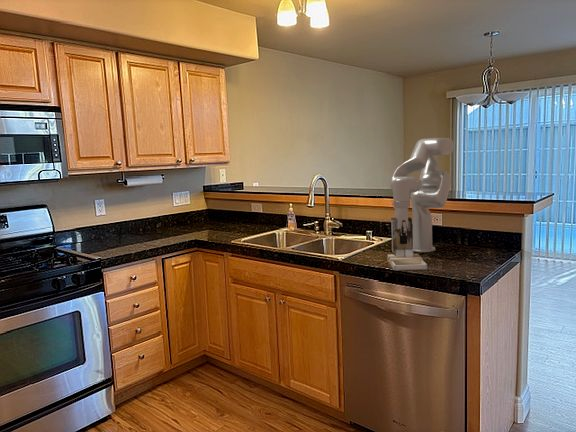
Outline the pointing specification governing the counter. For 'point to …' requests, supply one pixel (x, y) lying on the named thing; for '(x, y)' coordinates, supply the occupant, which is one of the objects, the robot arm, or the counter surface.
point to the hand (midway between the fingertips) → (402, 242)
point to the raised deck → (405, 259)
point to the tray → (409, 266)
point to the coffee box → (397, 234)
